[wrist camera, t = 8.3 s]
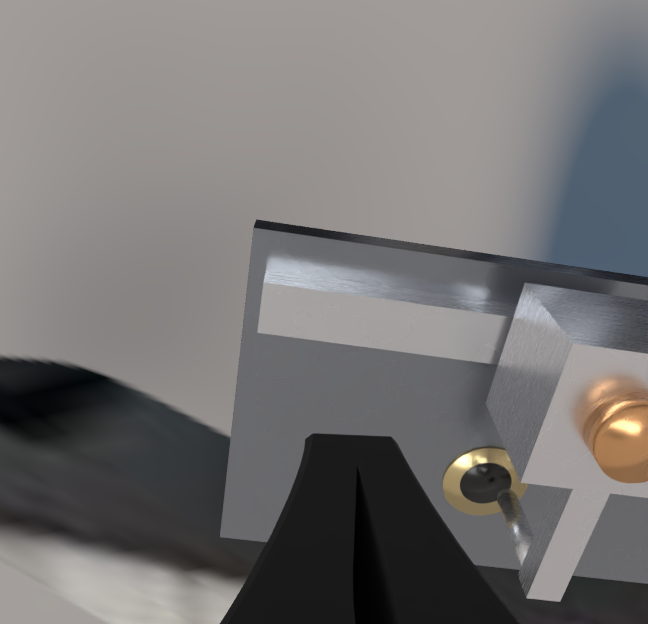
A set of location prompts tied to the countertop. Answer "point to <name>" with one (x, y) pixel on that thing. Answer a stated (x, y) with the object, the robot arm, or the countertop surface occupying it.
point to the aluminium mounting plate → (398, 381)
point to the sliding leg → (570, 421)
